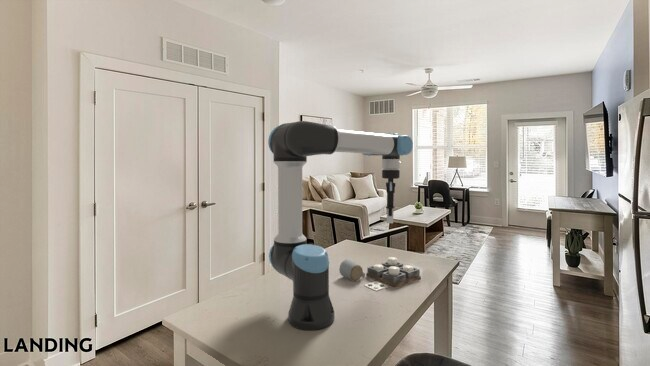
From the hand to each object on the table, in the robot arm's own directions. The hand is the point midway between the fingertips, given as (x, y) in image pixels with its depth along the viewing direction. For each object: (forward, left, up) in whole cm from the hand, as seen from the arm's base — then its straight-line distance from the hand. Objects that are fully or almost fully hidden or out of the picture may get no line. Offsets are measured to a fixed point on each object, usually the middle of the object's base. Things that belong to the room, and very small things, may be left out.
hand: (390, 222), depth 146 cm
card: (-14, -5, -24) cm, 28 cm away
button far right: (+3, -7, -22) cm, 24 cm away
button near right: (-6, -7, -21) cm, 23 cm away
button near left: (-6, +2, -22) cm, 23 cm away
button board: (-1, -3, -24) cm, 24 cm away
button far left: (+3, +2, -21) cm, 21 cm away
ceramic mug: (-15, +7, -24) cm, 29 cm away
